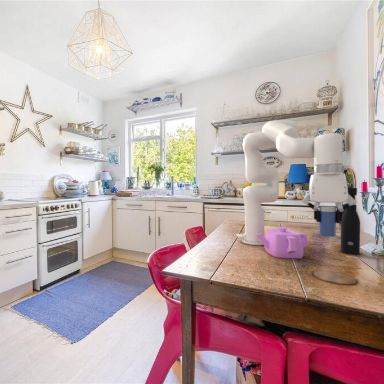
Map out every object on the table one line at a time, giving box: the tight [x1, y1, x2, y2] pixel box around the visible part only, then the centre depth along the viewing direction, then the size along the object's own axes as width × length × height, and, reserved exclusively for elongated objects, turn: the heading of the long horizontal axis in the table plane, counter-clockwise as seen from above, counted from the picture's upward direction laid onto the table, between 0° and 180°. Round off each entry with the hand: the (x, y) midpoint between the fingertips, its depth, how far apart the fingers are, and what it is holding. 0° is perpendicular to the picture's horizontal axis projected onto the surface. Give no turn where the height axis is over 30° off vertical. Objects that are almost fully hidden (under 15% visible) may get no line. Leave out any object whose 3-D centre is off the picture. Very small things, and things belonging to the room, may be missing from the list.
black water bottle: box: [340, 187, 361, 256], centre depth 108 cm, size 6×6×30 cm
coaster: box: [313, 270, 357, 286], centre depth 81 cm, size 11×11×1 cm
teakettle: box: [257, 226, 309, 260], centre depth 109 cm, size 17×17×12 cm
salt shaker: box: [318, 205, 337, 238], centre depth 82 cm, size 5×5×10 cm
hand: (327, 221), depth 82 cm, fingers closed on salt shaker, 4 cm apart
